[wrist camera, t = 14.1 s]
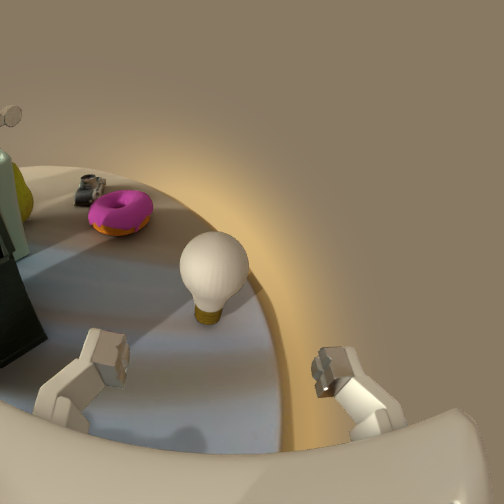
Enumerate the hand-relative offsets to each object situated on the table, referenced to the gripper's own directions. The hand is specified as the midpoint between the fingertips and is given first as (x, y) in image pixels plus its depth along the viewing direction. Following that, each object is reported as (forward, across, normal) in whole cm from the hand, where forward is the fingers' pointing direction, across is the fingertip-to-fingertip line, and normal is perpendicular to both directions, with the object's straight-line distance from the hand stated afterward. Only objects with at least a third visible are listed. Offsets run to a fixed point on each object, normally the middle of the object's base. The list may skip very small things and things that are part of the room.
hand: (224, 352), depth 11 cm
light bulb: (+12, 0, +12) cm, 17 cm away
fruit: (+26, +33, +12) cm, 44 cm away
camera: (+38, +24, +12) cm, 47 cm away
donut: (+29, +14, +12) cm, 35 cm away
